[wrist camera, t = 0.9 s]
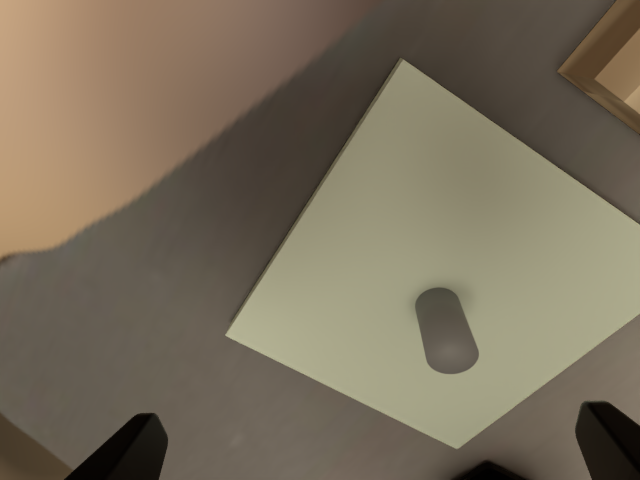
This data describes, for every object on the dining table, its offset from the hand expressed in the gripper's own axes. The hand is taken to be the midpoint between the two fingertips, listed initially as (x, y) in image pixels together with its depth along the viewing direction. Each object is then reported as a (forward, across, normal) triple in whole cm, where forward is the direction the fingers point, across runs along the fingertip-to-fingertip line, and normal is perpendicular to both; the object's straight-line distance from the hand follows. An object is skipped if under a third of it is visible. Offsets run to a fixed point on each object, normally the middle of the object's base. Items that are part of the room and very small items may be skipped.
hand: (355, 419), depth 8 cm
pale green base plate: (+13, -4, +7) cm, 15 cm away
